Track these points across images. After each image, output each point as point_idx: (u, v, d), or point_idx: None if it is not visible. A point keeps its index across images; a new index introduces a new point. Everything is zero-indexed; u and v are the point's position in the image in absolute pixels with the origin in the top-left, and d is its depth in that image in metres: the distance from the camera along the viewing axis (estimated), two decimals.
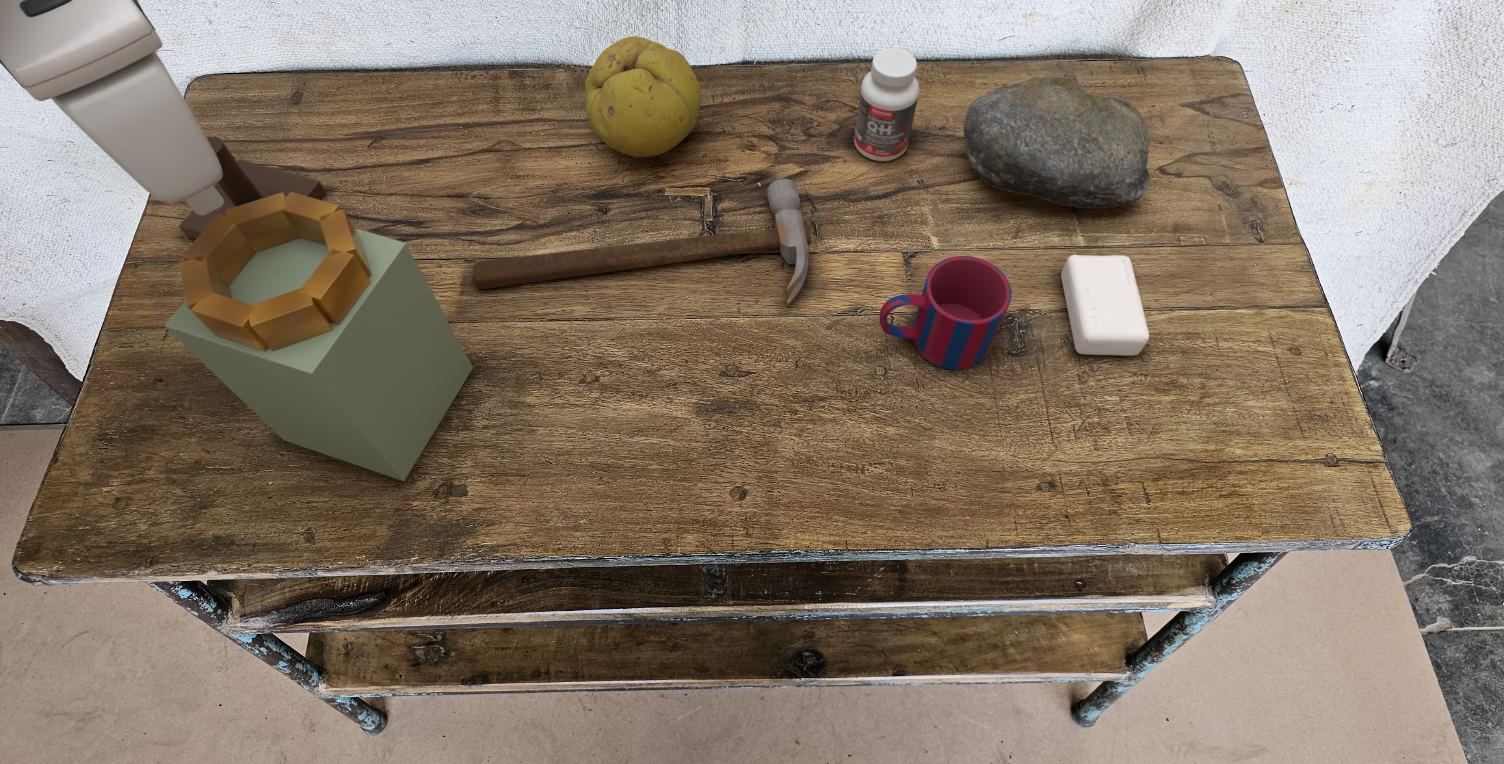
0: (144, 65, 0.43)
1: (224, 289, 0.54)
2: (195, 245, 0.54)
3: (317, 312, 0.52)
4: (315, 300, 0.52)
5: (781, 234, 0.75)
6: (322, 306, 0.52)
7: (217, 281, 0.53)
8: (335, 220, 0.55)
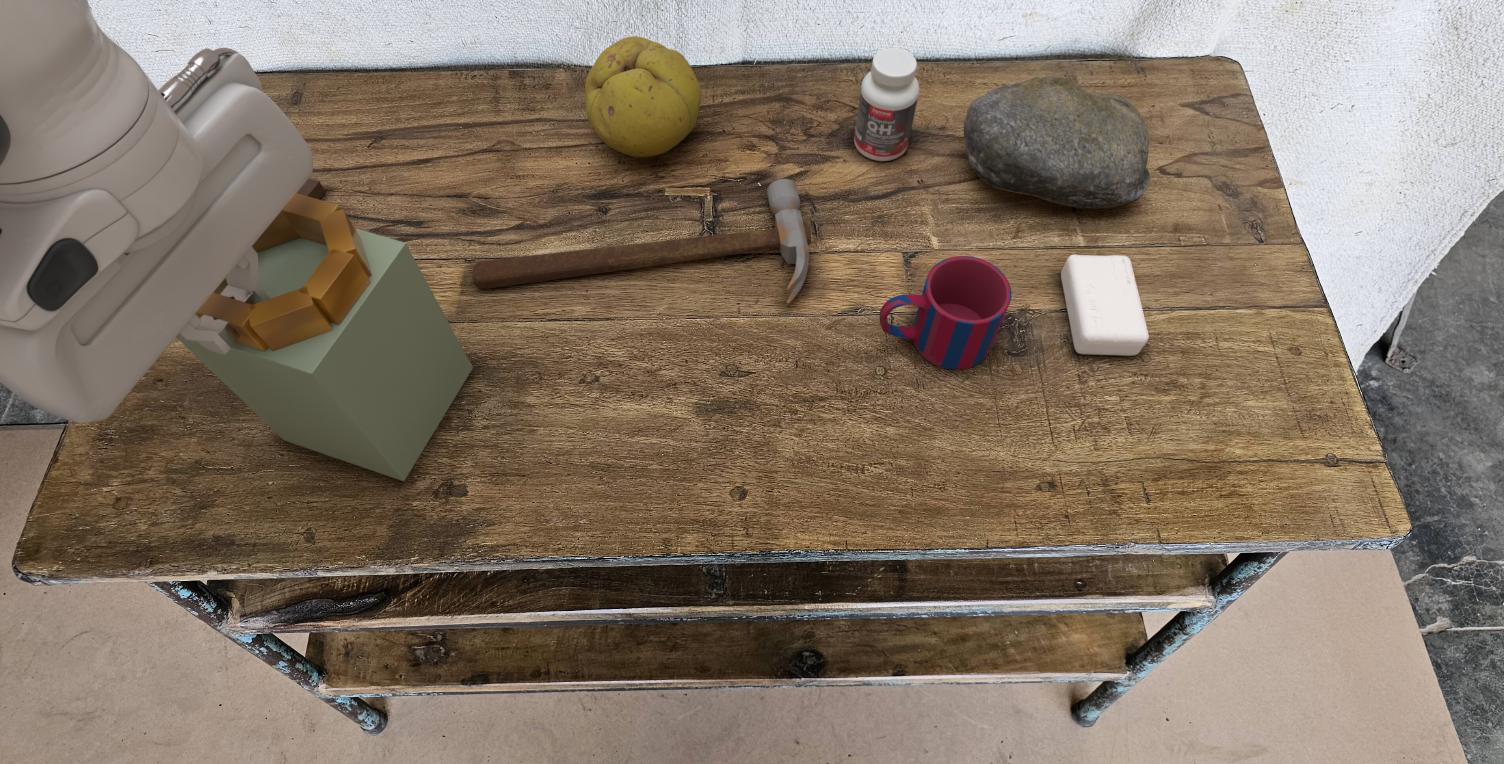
0: (21, 329, 0.38)
1: None
2: None
3: (317, 312, 0.52)
4: (315, 300, 0.52)
5: (781, 234, 0.75)
6: (322, 306, 0.52)
7: None
8: (335, 220, 0.55)
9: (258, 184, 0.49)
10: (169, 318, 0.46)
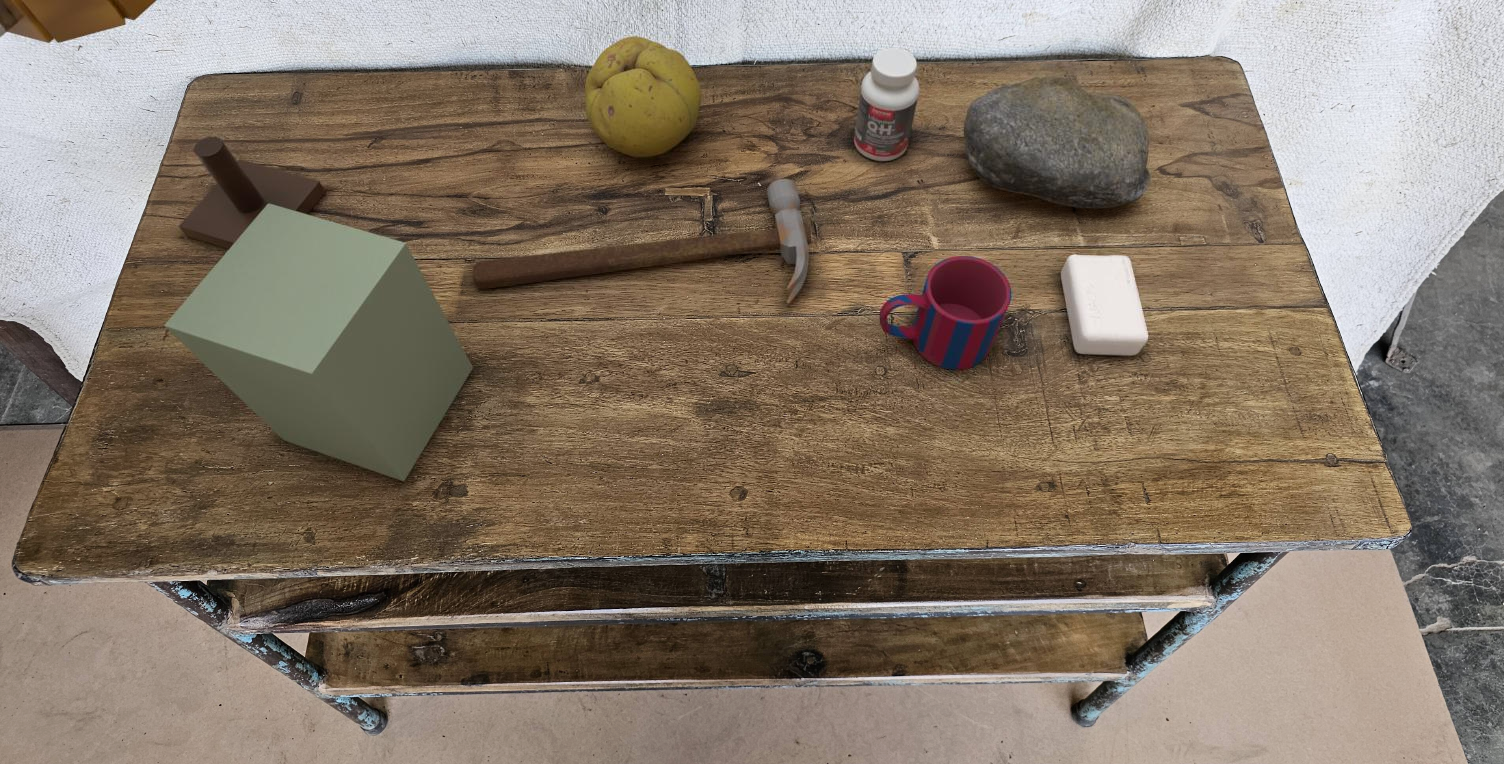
0: None
1: None
2: None
3: None
4: None
5: (781, 234, 0.75)
6: None
7: None
8: None
9: None
10: None
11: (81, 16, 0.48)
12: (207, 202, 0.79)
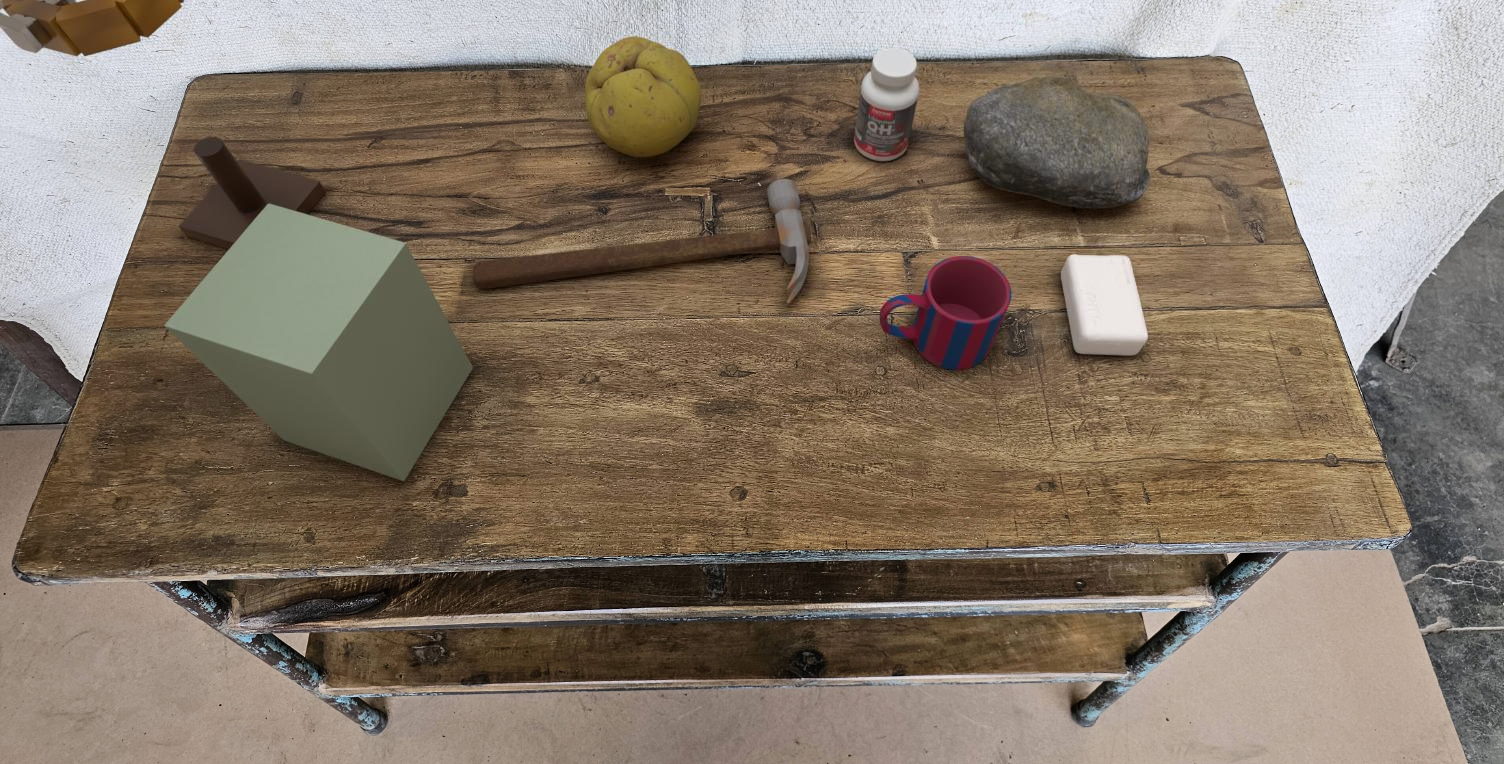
0: None
1: None
2: None
3: (121, 16, 0.57)
4: (119, 5, 0.57)
5: (781, 234, 0.75)
6: (127, 13, 0.58)
7: None
8: None
9: None
10: None
11: (104, 34, 0.58)
12: (207, 202, 0.79)
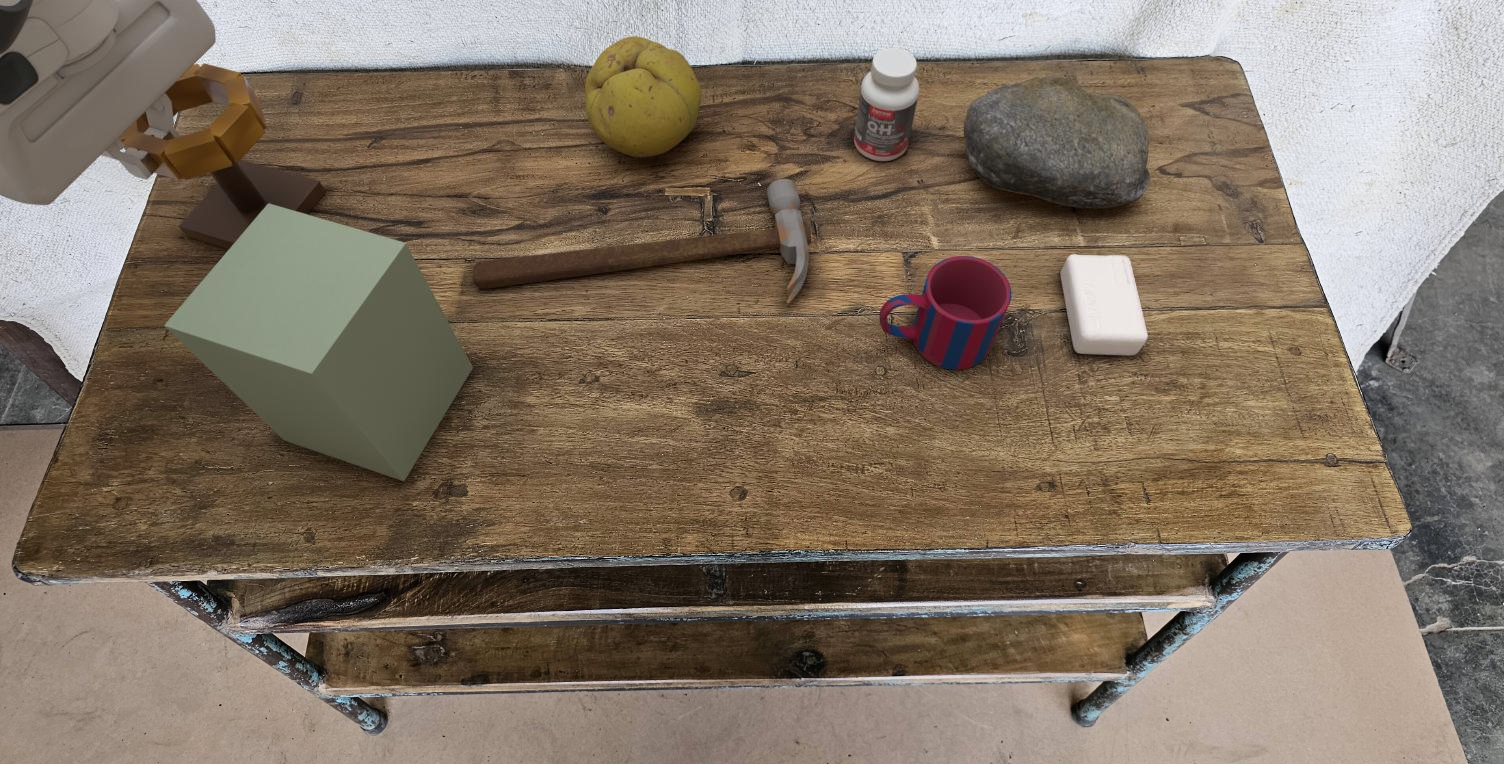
0: None
1: None
2: None
3: (218, 147, 0.68)
4: (216, 138, 0.68)
5: (781, 234, 0.75)
6: (222, 144, 0.68)
7: (143, 127, 0.69)
8: (236, 83, 0.70)
9: (168, 43, 0.64)
10: (97, 135, 0.61)
11: (203, 162, 0.68)
12: (207, 202, 0.79)
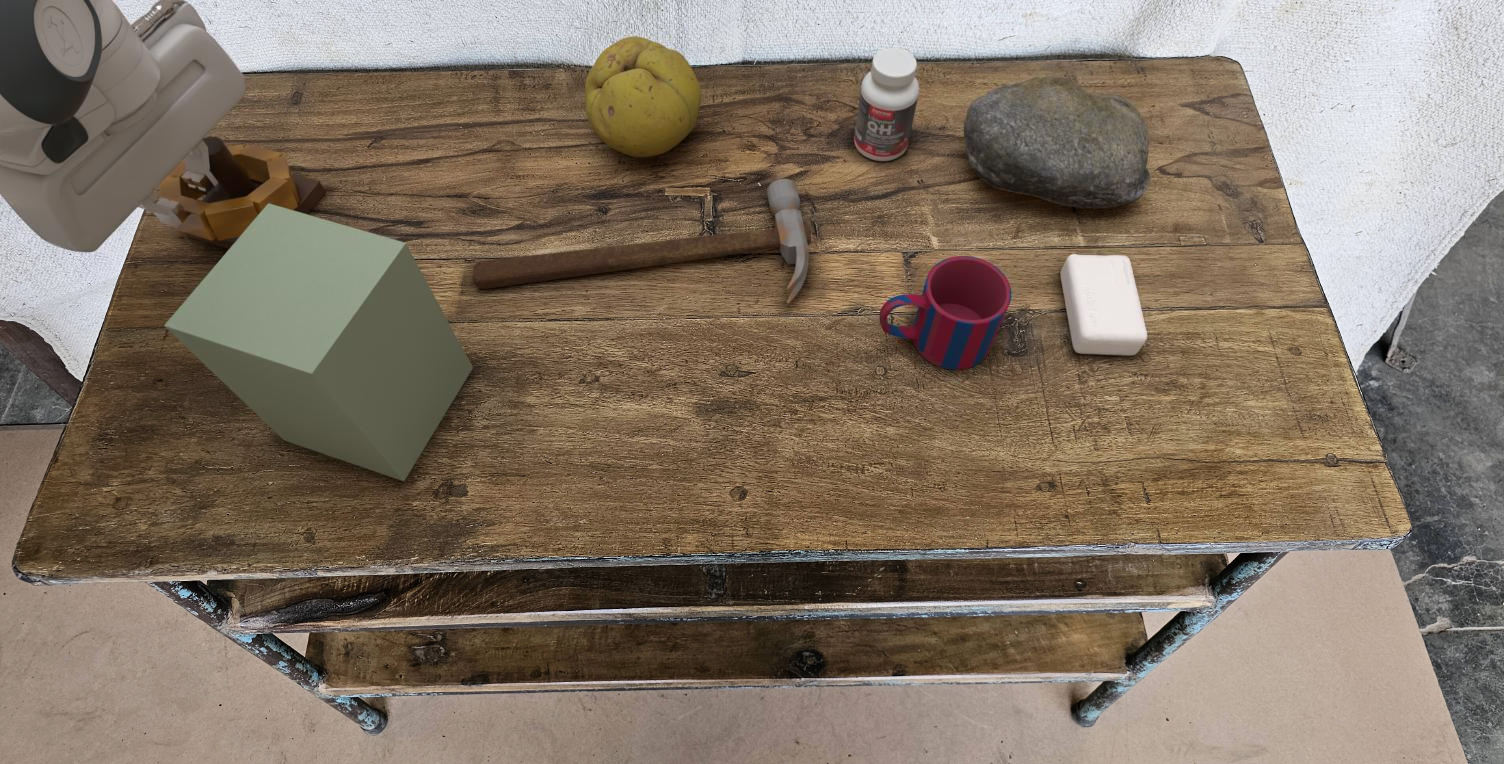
0: (37, 176, 0.58)
1: None
2: None
3: (255, 213, 0.73)
4: (255, 204, 0.73)
5: (781, 234, 0.75)
6: (260, 210, 0.74)
7: (185, 193, 0.75)
8: (278, 161, 0.77)
9: (203, 97, 0.69)
10: (138, 185, 0.66)
11: (238, 225, 0.73)
12: (207, 202, 0.79)
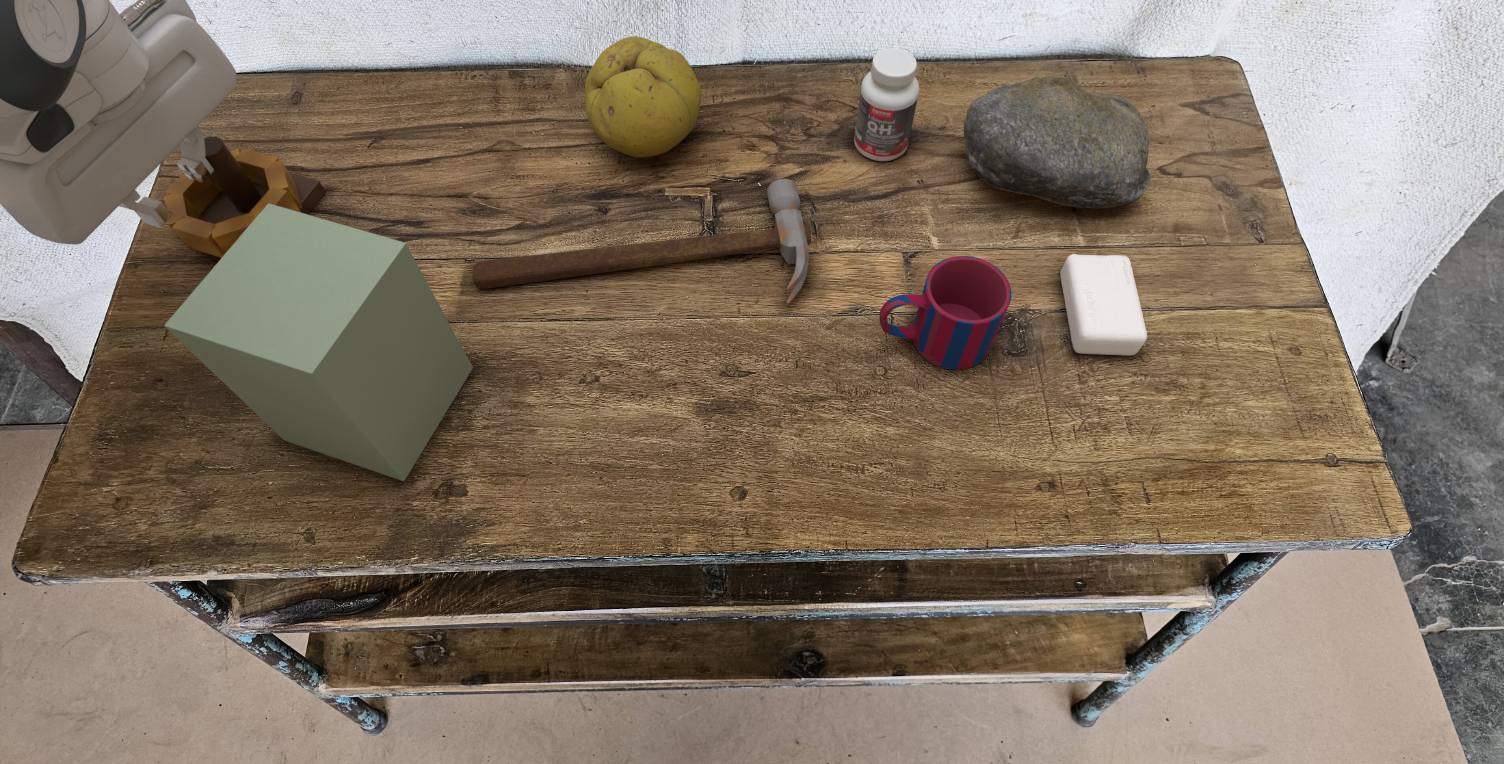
0: (22, 165, 0.57)
1: (196, 216, 0.77)
2: (175, 184, 0.76)
3: None
4: None
5: (781, 234, 0.75)
6: None
7: (190, 210, 0.76)
8: (275, 167, 0.77)
9: (192, 89, 0.68)
10: (126, 177, 0.65)
11: None
12: None
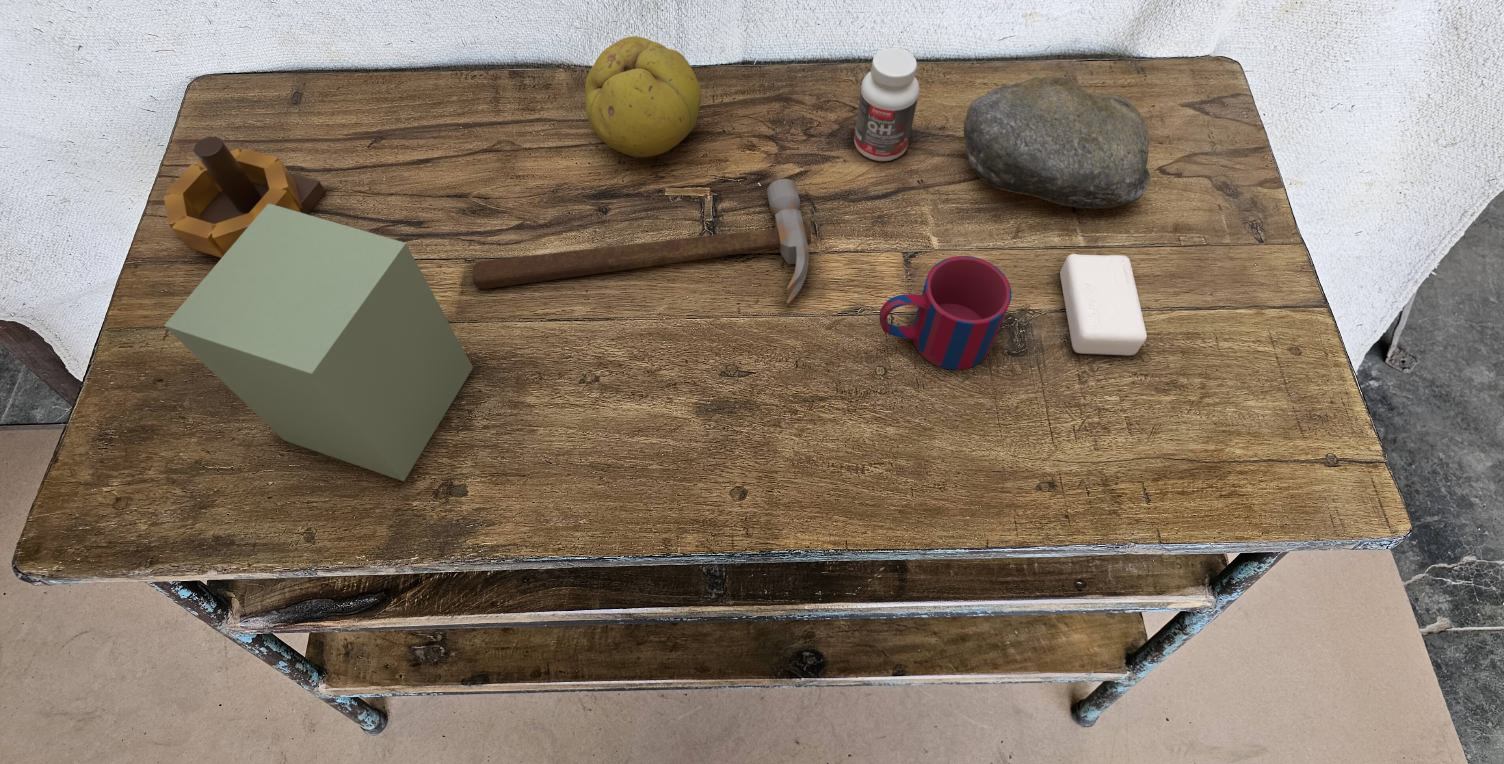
0: None
1: (196, 216, 0.77)
2: (175, 184, 0.76)
3: None
4: None
5: (781, 234, 0.75)
6: None
7: (190, 210, 0.76)
8: (275, 167, 0.77)
9: None
10: None
11: None
12: None
